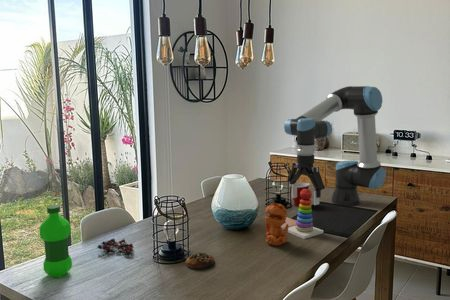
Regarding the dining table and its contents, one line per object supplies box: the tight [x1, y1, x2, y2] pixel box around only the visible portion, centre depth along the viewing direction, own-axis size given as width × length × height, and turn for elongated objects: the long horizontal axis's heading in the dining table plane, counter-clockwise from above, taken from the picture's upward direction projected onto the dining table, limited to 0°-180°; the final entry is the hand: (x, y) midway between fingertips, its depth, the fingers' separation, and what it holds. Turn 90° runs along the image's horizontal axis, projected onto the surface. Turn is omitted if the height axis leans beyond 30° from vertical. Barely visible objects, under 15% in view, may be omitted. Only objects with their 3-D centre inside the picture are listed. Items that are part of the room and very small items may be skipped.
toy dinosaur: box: [263, 201, 289, 246], centre depth 181 cm, size 11×11×18 cm
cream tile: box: [287, 226, 324, 240], centre depth 195 cm, size 12×12×1 cm
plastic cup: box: [289, 182, 311, 208], centre depth 235 cm, size 11×11×12 cm
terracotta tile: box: [264, 216, 297, 231], centre depth 205 cm, size 12×12×1 cm
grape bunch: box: [97, 238, 135, 256], centre depth 176 cm, size 15×14×5 cm
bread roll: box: [185, 251, 215, 270], centre depth 163 cm, size 11×11×5 cm
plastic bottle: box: [39, 204, 73, 278], centre depth 153 cm, size 10×10×25 cm
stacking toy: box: [295, 188, 314, 232], centre depth 193 cm, size 8×8×19 cm
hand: (305, 201), depth 193 cm, fingers open, 13 cm apart
